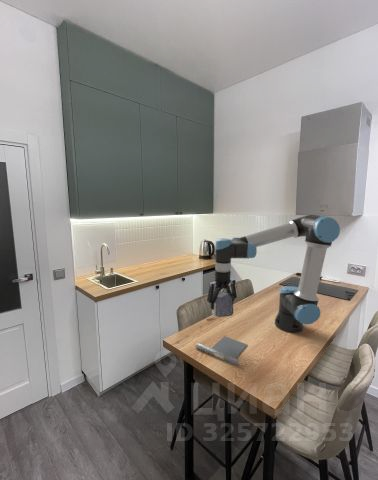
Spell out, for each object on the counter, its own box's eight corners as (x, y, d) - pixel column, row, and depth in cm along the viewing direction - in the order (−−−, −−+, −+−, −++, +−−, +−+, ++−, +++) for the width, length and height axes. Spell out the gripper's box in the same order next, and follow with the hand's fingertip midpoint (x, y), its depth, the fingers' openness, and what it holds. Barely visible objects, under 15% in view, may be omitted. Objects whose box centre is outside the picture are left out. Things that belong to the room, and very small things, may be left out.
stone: (227, 311, 131) (238, 314, 122) (212, 319, 127) (222, 322, 118) (220, 290, 132) (231, 291, 123) (205, 296, 128) (214, 298, 119)
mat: (247, 345, 124) (247, 344, 124) (234, 360, 112) (234, 360, 112) (224, 336, 132) (224, 335, 132) (209, 350, 120) (209, 349, 120)
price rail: (238, 363, 110) (238, 359, 110) (236, 366, 109) (237, 362, 108) (197, 346, 123) (197, 342, 122) (195, 348, 121) (195, 344, 121)
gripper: (236, 265, 129) (235, 306, 133) (199, 270, 121) (199, 313, 125) (245, 269, 122) (243, 312, 126) (207, 275, 114) (206, 320, 118)
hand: (221, 313), depth 125 cm, fingers closed on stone, 9 cm apart
